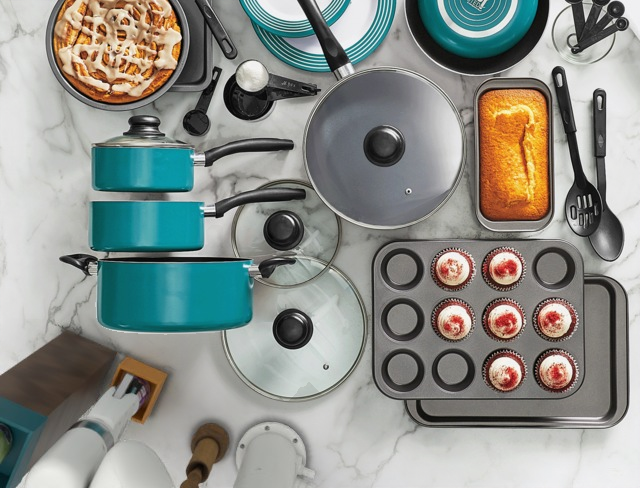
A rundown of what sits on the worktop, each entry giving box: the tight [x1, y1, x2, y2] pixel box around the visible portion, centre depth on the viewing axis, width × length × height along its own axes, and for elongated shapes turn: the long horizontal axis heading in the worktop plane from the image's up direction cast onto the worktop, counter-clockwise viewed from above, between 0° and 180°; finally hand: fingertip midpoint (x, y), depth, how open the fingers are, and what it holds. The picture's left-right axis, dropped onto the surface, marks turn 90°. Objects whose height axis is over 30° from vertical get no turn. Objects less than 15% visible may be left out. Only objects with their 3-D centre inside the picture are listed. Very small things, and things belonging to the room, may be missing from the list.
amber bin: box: [108, 356, 169, 425], centre depth 120 cm, size 8×8×4 cm
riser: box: [0, 329, 118, 478], centre depth 108 cm, size 10×10×28 cm
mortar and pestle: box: [179, 422, 230, 488], centre depth 113 cm, size 7×6×18 cm
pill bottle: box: [116, 374, 150, 416], centre depth 116 cm, size 5×5×10 cm
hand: (127, 398), depth 116 cm, fingers closed on pill bottle, 5 cm apart
